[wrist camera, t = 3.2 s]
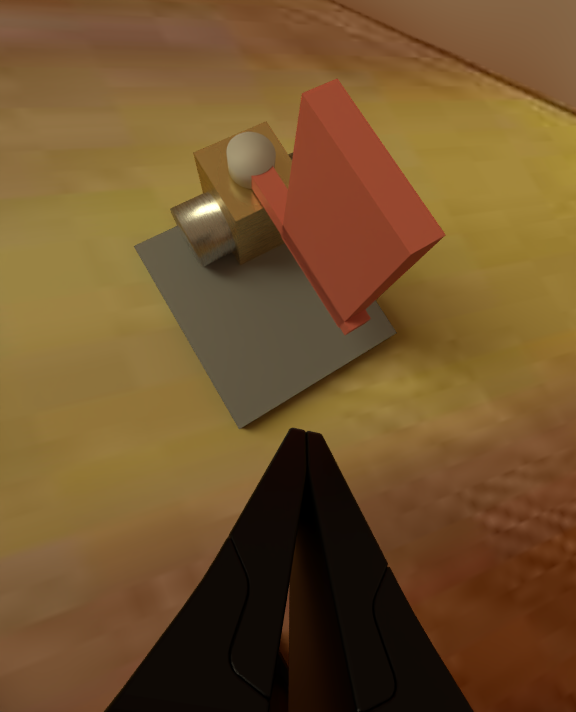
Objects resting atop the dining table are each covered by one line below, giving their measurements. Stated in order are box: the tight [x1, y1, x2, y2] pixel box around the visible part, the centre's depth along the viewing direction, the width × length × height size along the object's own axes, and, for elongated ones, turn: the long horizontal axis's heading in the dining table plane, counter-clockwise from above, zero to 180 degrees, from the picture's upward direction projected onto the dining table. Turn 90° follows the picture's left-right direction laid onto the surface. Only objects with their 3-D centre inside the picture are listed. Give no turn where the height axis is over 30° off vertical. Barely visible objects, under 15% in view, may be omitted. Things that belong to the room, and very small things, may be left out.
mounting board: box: [134, 226, 396, 429], centre depth 22 cm, size 14×12×1 cm
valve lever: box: [227, 79, 445, 335], centre depth 13 cm, size 11×2×8 cm, turn 31°
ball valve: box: [170, 122, 293, 267], centre depth 19 cm, size 4×9×5 cm, turn 121°
